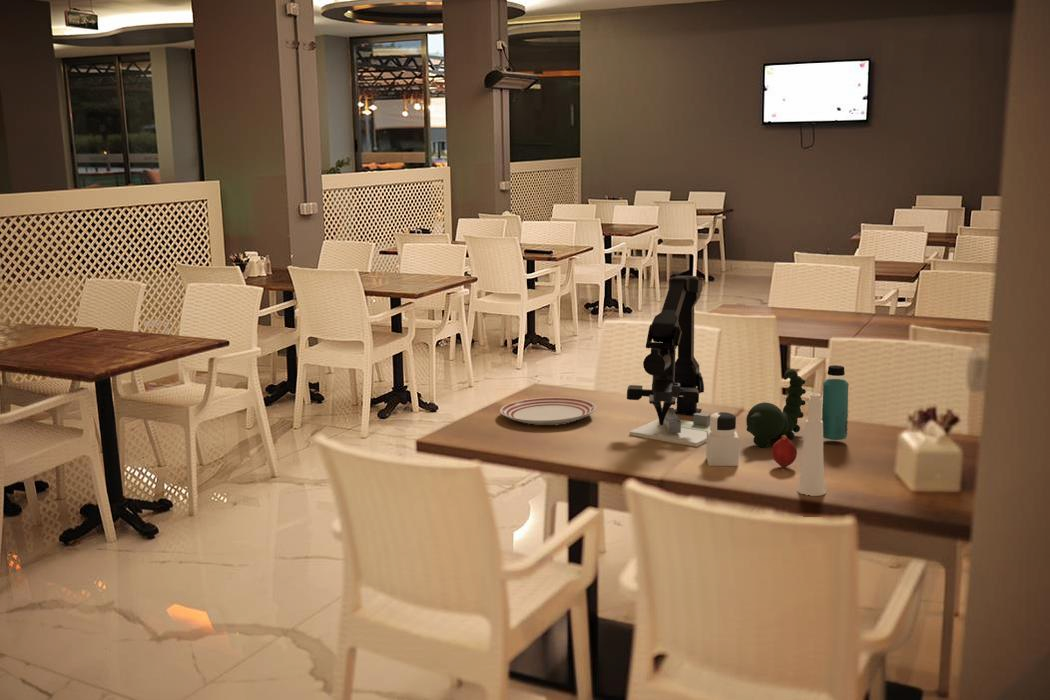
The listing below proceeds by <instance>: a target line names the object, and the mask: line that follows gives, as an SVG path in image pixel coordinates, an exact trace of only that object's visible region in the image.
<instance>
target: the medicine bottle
mask: <svg viewBox="0 0 1050 700" xmlns="http://www.w3.org/2000/svg"><path fill="white" fill-rule="evenodd" d="M736 419H737V417H736V415H734V414H733V413H730V412H727V411H723V412H722V411H720V412H719V411H718V412H715V413H713V414H710V430H707V442H706V443H705V445H706V448H705V449H706V452H705V453H706V455H705V456H706V461H707V464H708V466H709V467H739V463H740V462H739V460H740V459H739V458H740V456H739V455H740V438H739V434H738V431H737V427H736V423H737V420H736Z"/></svg>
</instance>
